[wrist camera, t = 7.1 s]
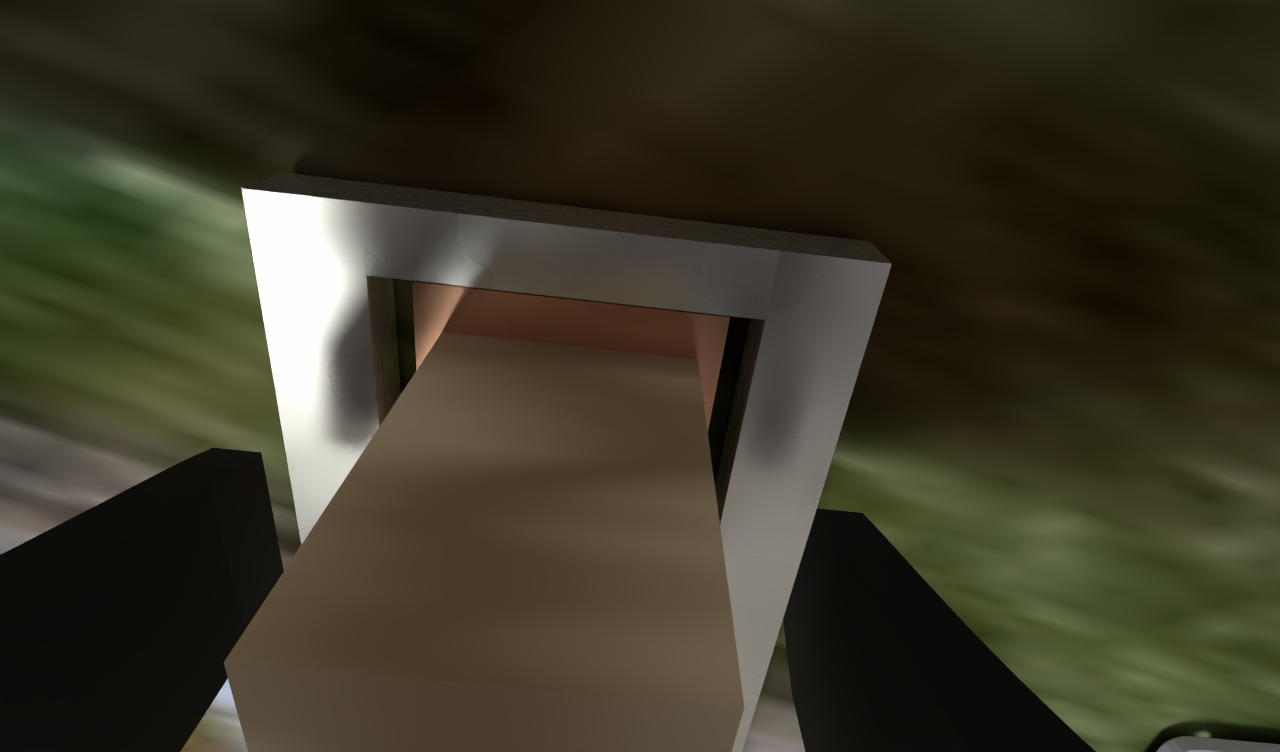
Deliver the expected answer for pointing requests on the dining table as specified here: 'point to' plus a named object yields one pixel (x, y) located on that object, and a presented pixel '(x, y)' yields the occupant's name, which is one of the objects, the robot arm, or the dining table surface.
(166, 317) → the dining table surface
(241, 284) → the dining table surface
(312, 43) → the dining table surface
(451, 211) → the white rectangular slotted frame
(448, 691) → the block
